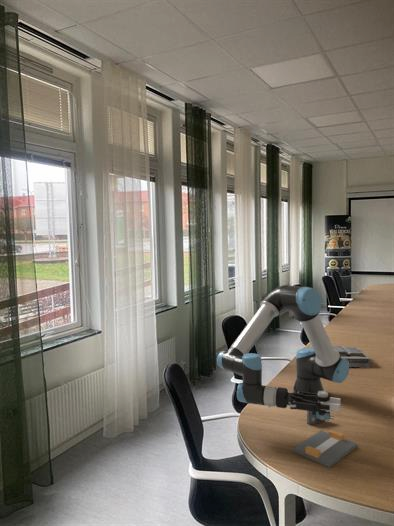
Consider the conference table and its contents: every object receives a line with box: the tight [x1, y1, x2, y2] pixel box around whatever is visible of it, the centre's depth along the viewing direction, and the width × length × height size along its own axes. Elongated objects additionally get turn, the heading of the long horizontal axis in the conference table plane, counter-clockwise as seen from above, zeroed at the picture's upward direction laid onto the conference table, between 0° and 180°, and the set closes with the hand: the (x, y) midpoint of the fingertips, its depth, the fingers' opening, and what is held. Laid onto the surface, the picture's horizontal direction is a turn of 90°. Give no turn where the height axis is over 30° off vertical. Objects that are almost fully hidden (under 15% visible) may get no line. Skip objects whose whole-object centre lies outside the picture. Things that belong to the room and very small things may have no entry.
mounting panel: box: [292, 429, 358, 469], centre depth 152 cm, size 20×15×3 cm
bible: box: [332, 345, 371, 368], centre depth 254 cm, size 23×27×10 cm
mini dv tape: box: [306, 411, 326, 426], centre depth 174 cm, size 8×2×6 cm, turn 110°
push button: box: [315, 390, 335, 422], centre depth 151 cm, size 7×5×10 cm
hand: (339, 405), depth 149 cm, fingers closed on push button, 5 cm apart
